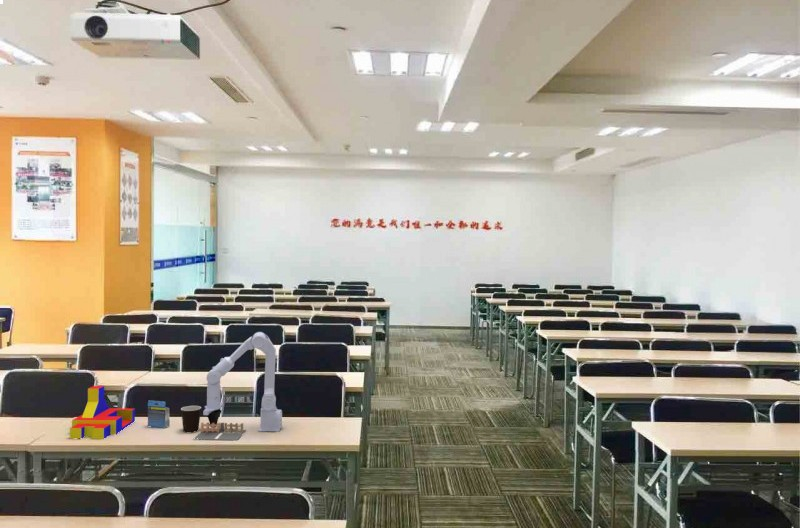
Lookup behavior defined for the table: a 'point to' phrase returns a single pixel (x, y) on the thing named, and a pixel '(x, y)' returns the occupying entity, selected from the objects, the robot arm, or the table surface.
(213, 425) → the fence panel
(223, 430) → the fixed fence
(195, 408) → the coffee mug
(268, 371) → the robot arm
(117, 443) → the table surface
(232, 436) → the mat
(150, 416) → the label tape box
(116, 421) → the building blocks toy
